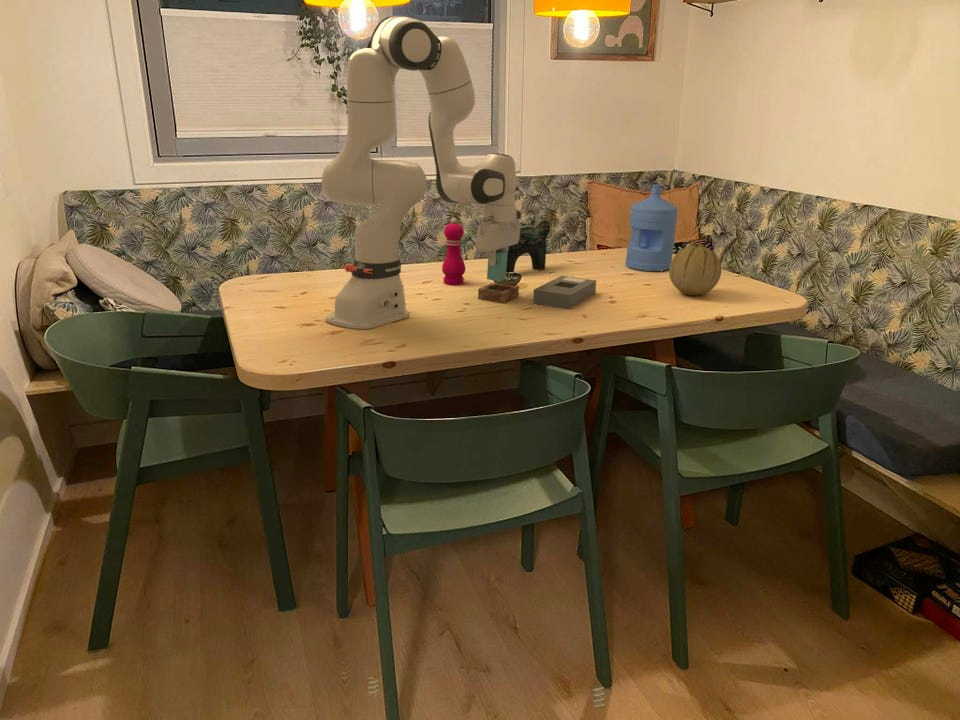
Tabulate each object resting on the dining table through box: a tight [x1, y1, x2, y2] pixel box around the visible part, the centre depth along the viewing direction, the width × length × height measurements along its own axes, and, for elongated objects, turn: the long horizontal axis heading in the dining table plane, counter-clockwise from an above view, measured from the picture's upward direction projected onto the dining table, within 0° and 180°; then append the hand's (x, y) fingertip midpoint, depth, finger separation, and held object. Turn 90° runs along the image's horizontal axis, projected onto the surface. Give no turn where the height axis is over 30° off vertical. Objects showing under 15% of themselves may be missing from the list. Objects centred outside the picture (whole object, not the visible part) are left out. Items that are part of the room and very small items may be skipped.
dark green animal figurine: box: [506, 210, 551, 273], centre depth 227 cm, size 20×6×20 cm, turn 130°
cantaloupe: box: [668, 242, 722, 296], centre depth 204 cm, size 15×15×15 cm
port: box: [532, 275, 597, 310], centre depth 199 cm, size 20×11×4 cm, turn 151°
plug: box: [486, 248, 508, 283], centre depth 195 cm, size 4×4×10 cm
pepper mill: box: [441, 217, 466, 286], centre depth 211 cm, size 7×7×20 cm
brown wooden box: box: [477, 282, 520, 304], centre depth 198 cm, size 9×9×3 cm
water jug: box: [625, 183, 678, 272], centre depth 235 cm, size 16×16×28 cm
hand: (497, 264), depth 195 cm, fingers closed on plug, 4 cm apart
